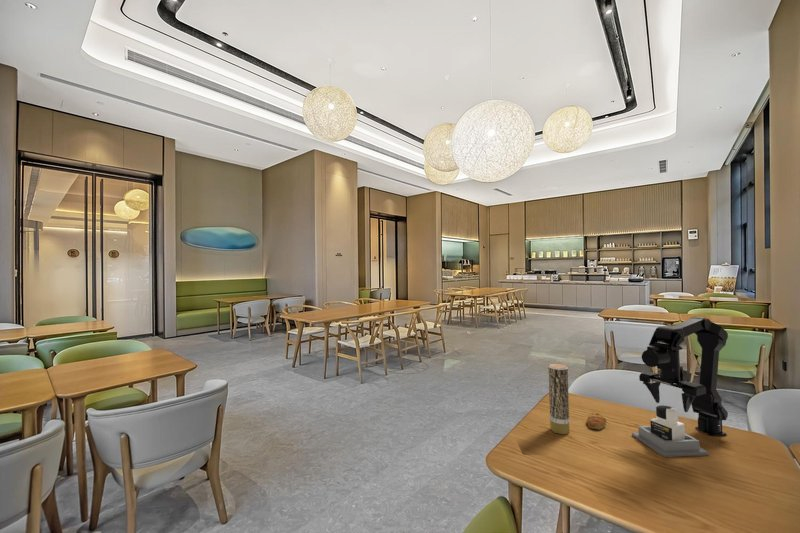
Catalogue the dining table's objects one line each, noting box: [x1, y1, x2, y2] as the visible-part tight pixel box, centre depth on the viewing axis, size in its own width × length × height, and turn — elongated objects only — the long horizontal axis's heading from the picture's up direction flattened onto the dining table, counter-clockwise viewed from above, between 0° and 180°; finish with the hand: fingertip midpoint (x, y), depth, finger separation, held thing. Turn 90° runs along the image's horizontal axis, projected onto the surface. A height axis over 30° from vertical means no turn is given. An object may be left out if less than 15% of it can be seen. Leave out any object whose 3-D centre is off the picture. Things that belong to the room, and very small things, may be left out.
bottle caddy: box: [631, 425, 709, 458], centre depth 122 cm, size 15×15×4 cm
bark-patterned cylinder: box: [548, 363, 570, 435], centre depth 134 cm, size 7×7×25 cm
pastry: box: [586, 412, 607, 430], centre depth 138 cm, size 9×7×4 cm
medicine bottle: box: [649, 405, 686, 441], centre depth 122 cm, size 7×7×12 cm
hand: (671, 407), depth 123 cm, fingers open, 9 cm apart
